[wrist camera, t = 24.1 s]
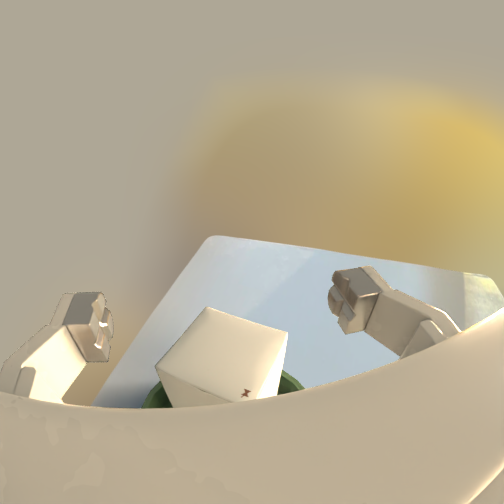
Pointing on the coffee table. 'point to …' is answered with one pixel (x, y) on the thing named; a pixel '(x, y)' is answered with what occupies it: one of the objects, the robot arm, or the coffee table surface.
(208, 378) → the white packaging box
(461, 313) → the coffee table surface
